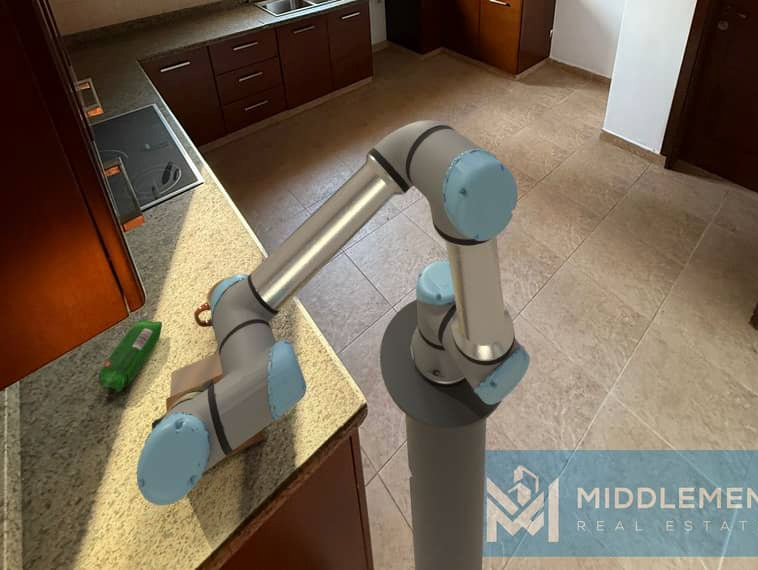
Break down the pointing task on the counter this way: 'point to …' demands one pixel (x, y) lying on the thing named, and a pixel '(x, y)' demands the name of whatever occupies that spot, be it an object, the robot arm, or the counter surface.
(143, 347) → the snack package
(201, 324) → the mug
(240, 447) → the carton
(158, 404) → the counter surface
